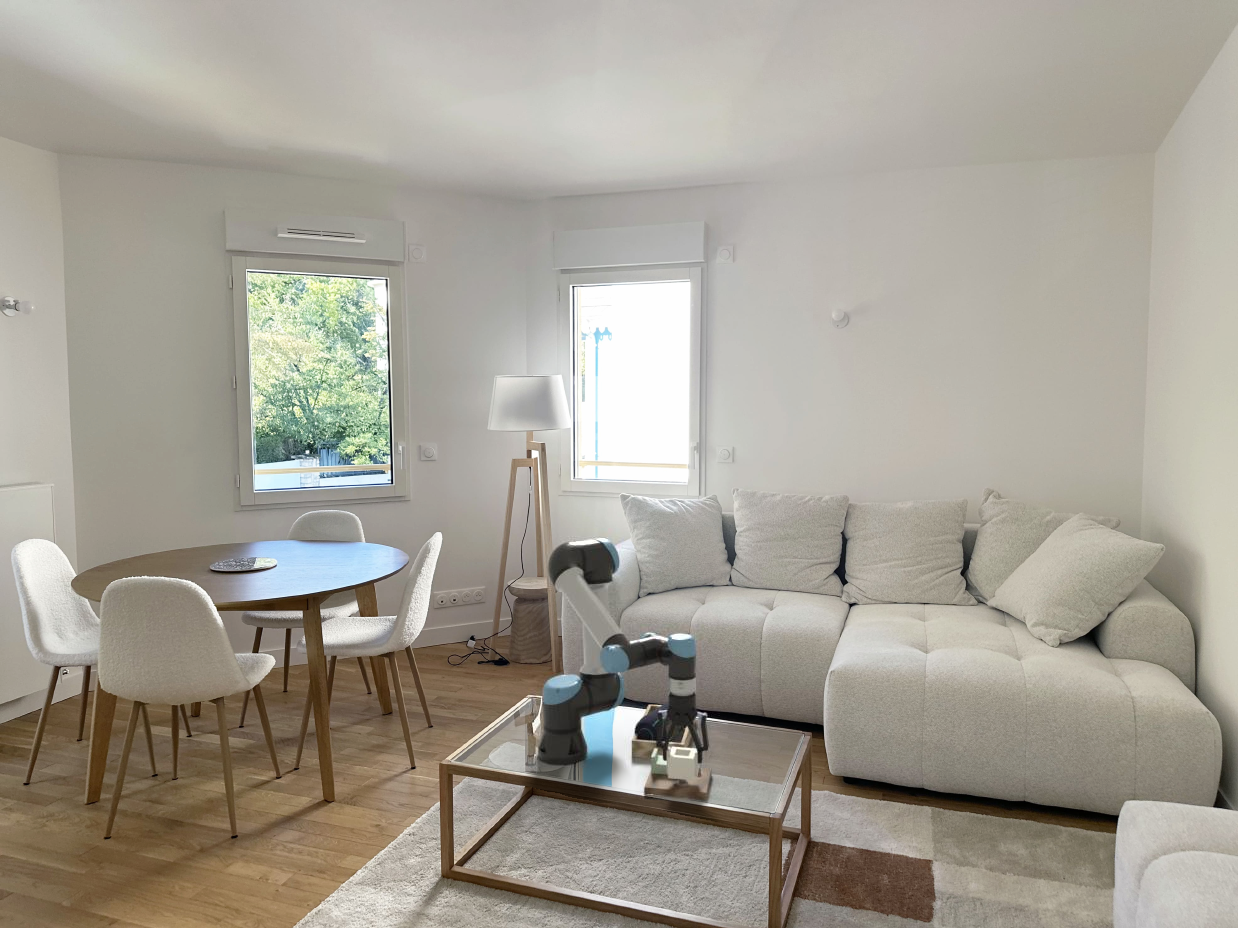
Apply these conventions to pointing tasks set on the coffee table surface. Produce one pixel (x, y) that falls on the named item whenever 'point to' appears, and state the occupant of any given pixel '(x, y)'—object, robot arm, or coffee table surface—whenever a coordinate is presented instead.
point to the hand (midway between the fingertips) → (682, 772)
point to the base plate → (679, 785)
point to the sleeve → (681, 763)
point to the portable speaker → (655, 725)
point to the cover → (658, 763)
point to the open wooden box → (647, 747)
